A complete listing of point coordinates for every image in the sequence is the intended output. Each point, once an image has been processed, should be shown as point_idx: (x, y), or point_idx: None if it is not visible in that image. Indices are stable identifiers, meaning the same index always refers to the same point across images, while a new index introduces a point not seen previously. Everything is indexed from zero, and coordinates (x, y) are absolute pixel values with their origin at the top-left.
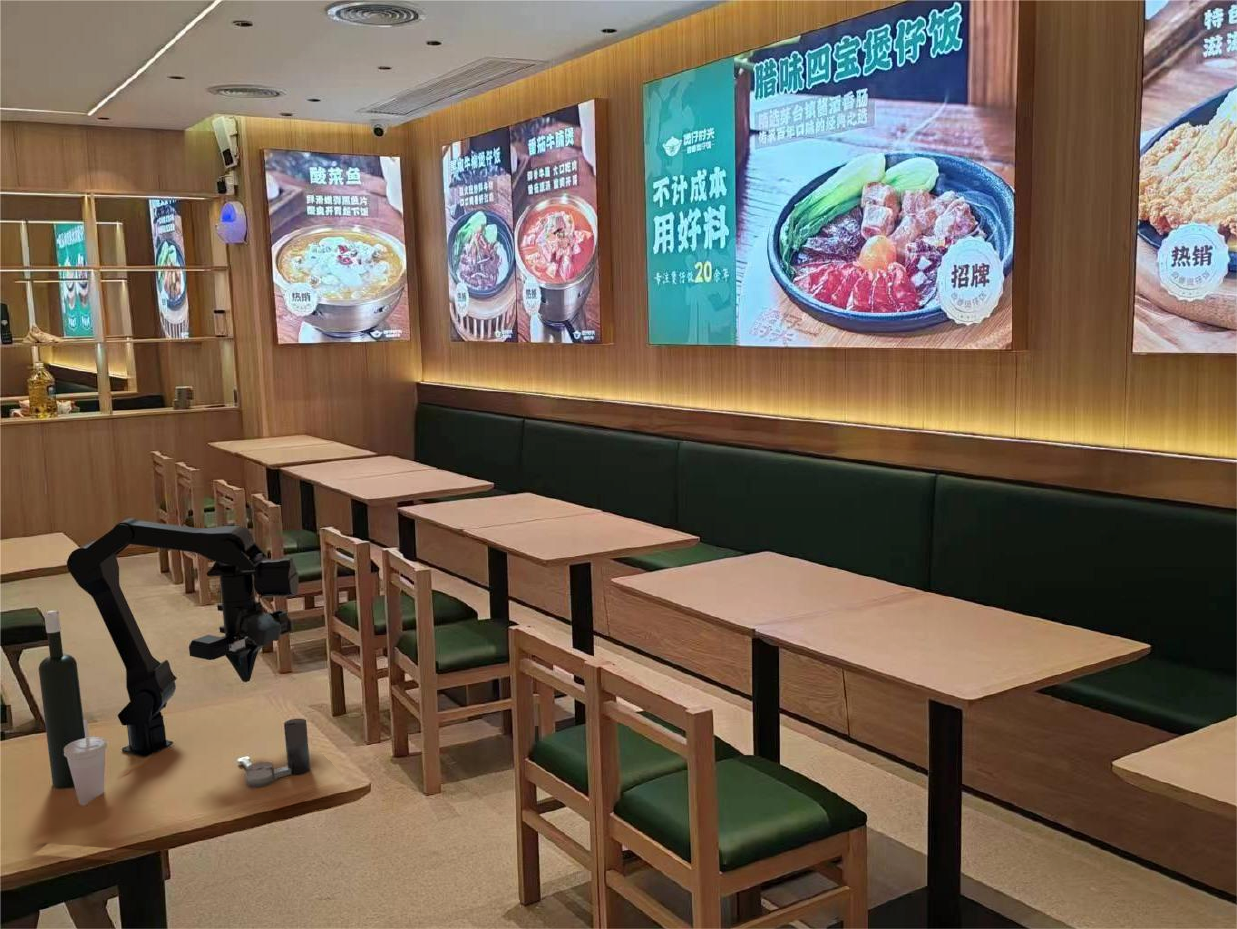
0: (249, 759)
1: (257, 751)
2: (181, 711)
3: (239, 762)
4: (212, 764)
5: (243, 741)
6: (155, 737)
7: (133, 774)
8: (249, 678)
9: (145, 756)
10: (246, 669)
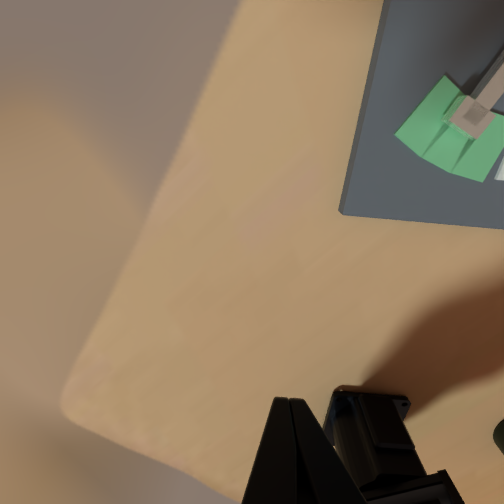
0: (467, 96)
1: (303, 192)
2: (191, 472)
3: (493, 115)
4: (411, 246)
5: (261, 275)
6: (398, 424)
7: (487, 362)
8: (282, 410)
9: (405, 397)
10: (332, 498)
